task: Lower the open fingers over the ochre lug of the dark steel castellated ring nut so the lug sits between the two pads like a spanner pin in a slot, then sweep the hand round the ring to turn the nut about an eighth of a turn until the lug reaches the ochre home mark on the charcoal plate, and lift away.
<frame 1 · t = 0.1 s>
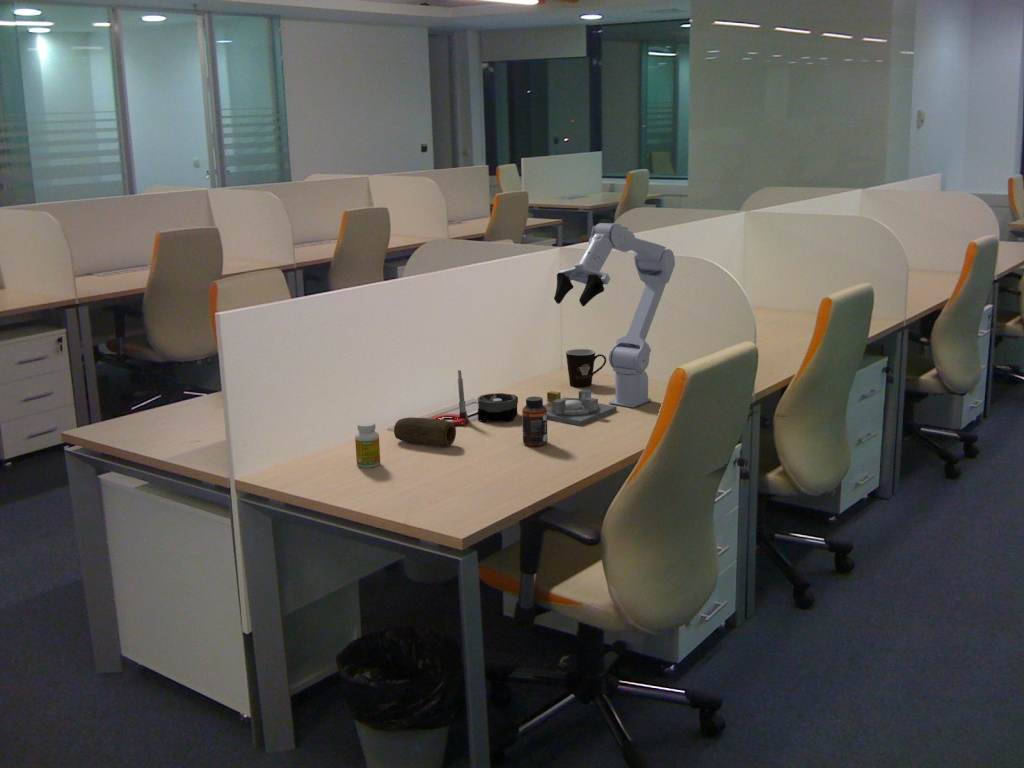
hand: (569, 302, 245), 32 cm above the table, fingers open, 7 cm apart
cap plate: (572, 413, 265), on the table
ring nut: (572, 402, 264), point 3 cm above the table, hinge at 0.0°
tow hook: (448, 423, 259), on the table
brown hollow cylinder: (425, 445, 241), on the table
supplement bottle 2: (535, 444, 239), on the table
supplement bottle: (368, 465, 227), on the table
cpu cooler: (497, 418, 263), on the table
coffee mug: (585, 385, 294), on the table
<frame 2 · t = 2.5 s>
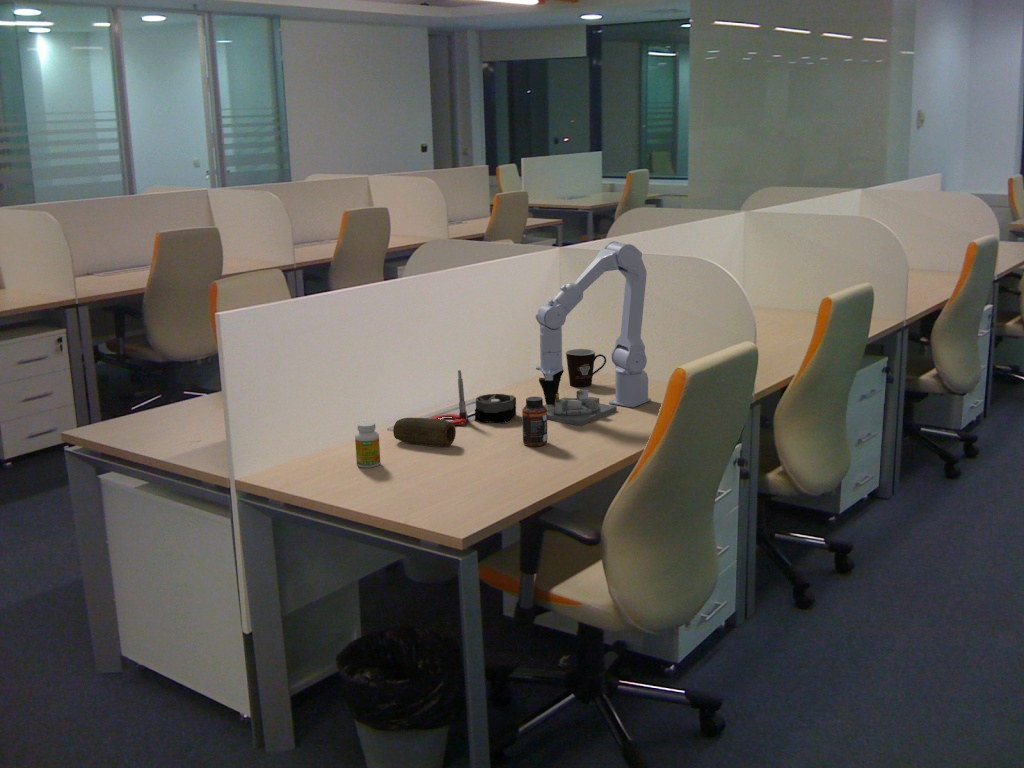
hand: (551, 400, 265), 3 cm above the table, fingers open, 7 cm apart
ring nut: (572, 402, 264), point 3 cm above the table, hinge at 7.5°, touching gripper
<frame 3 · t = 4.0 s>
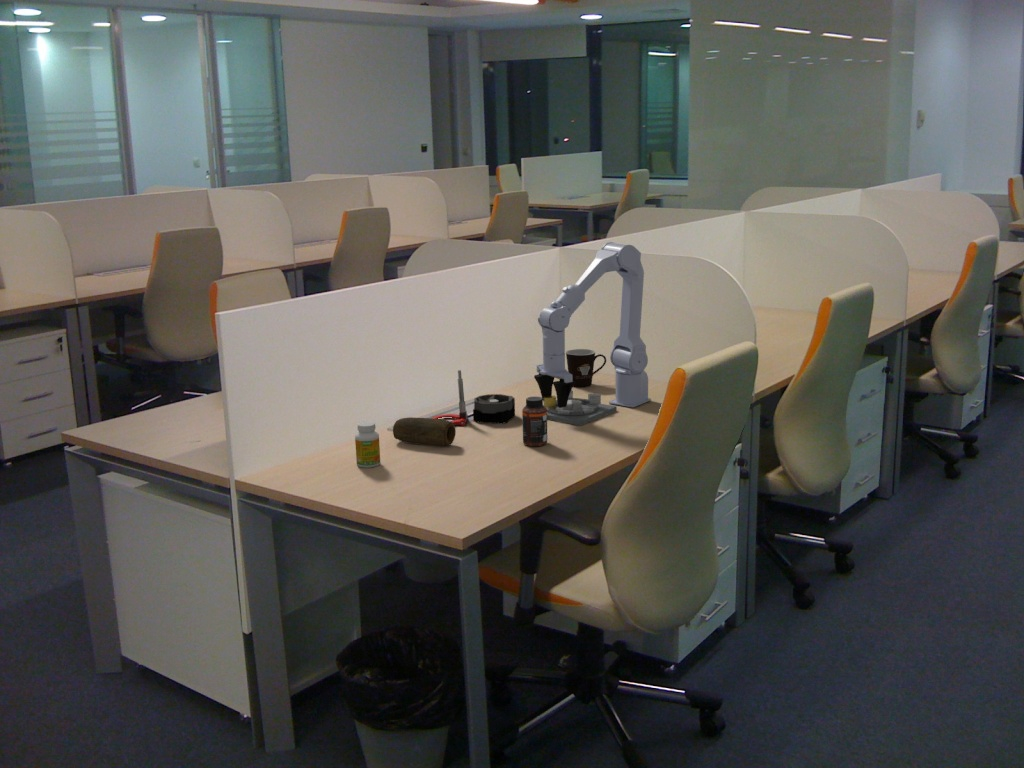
hand: (554, 403, 261), 3 cm above the table, fingers open, 7 cm apart
ring nut: (572, 402, 264), point 3 cm above the table, hinge at 45.4°, touching gripper
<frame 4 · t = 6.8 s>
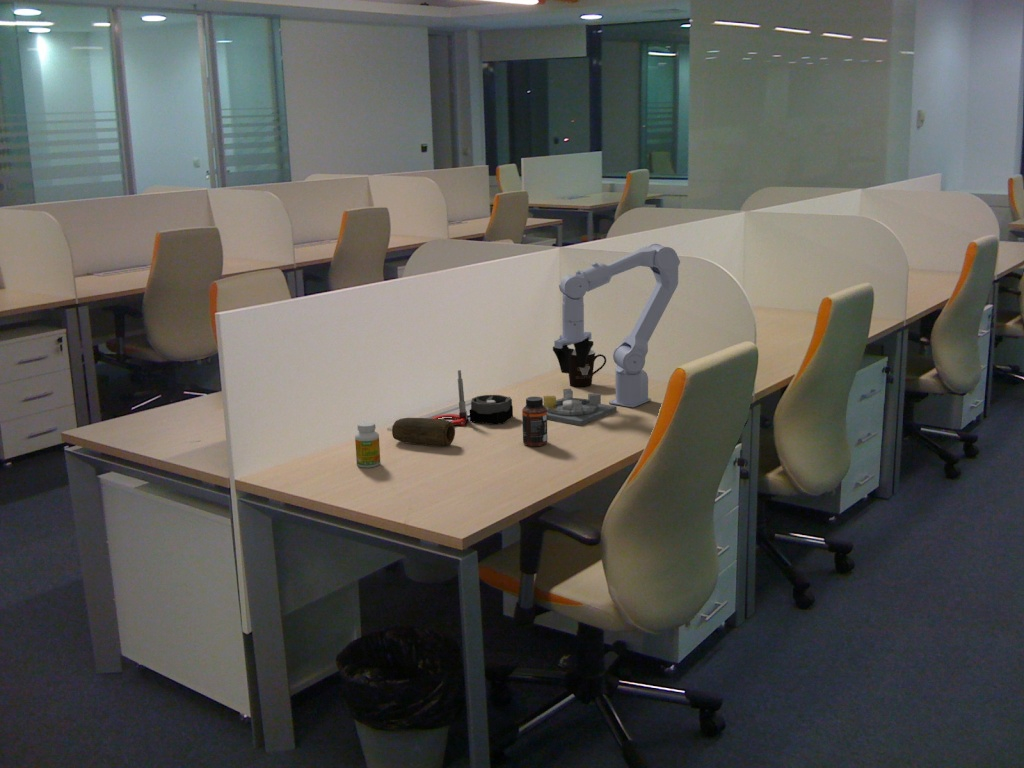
hand: (573, 370, 268), 10 cm above the table, fingers open, 7 cm apart
ring nut: (572, 402, 264), point 3 cm above the table, hinge at 45.6°
at the end: ring nut at +46° (first picture: +0°); ring nut touching nothing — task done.
